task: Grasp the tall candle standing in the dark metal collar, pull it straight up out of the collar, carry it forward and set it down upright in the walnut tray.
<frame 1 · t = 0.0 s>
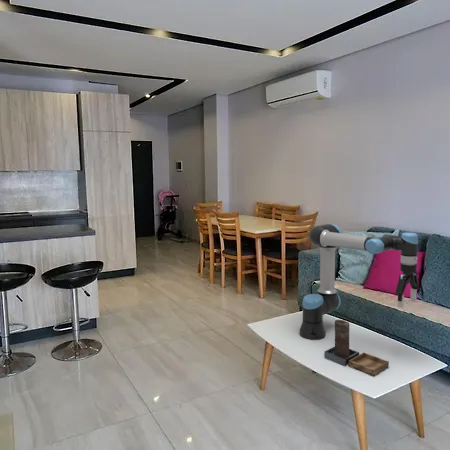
hand: (406, 304, 204), 28 cm above the table, fingers open, 13 cm apart
tray: (368, 366, 197), on the table
candle: (341, 358, 207), resting in collar
collar: (341, 358, 207), on the table
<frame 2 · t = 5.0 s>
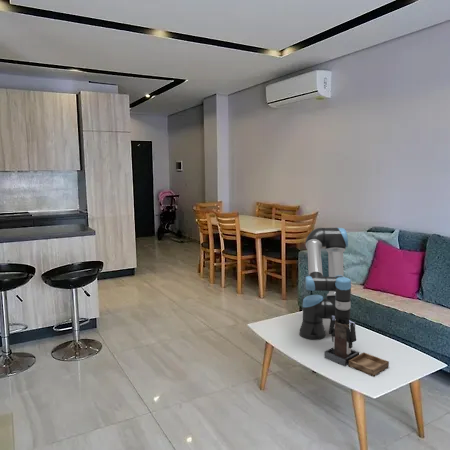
hand: (341, 350, 206), 4 cm above the table, fingers closed on candle, 7 cm apart
candle: (341, 358, 207), resting in collar, touching gripper
when the fingers open (7 cm above the table, at t = 11.1 s): candle drops 2 cm, resting on tray.
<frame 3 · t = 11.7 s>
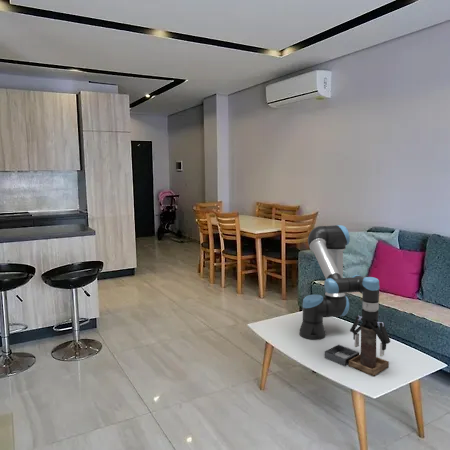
hand: (368, 351, 196), 8 cm above the table, fingers open, 13 cm apart
candle: (368, 365, 197), point 1 cm above the table, touching tray
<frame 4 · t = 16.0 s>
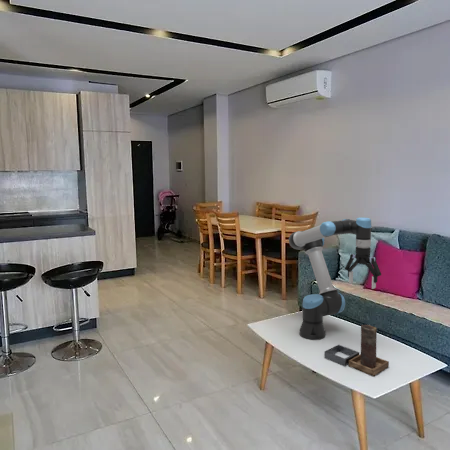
hand: (362, 285, 215), 35 cm above the table, fingers open, 13 cm apart
nothing on the table moved.
at the end: candle inside the target area on the tray (0.2 cm from its centre), point 0.6 cm above the tray's base; candle tilted 0°; the gripper is holding nothing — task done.
